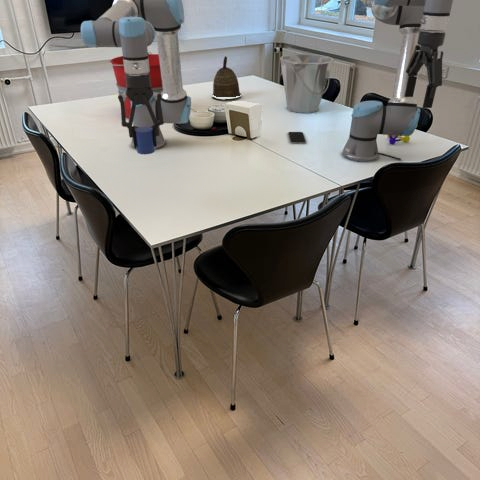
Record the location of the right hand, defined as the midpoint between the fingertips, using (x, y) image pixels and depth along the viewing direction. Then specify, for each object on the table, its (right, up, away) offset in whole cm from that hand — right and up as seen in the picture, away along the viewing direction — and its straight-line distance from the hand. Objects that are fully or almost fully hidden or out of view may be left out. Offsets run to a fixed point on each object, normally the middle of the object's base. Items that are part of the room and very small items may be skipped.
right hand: (417, 102), depth 145 cm
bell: (-67, +45, +136) cm, 158 cm away
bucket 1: (-110, +26, +104) cm, 154 cm away
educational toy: (+16, +1, +66) cm, 67 cm away
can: (-90, -15, +4) cm, 91 cm away
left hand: (-90, -14, +3) cm, 91 cm away
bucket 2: (-21, +32, +115) cm, 121 cm away
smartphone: (-31, +4, +71) cm, 77 cm away
